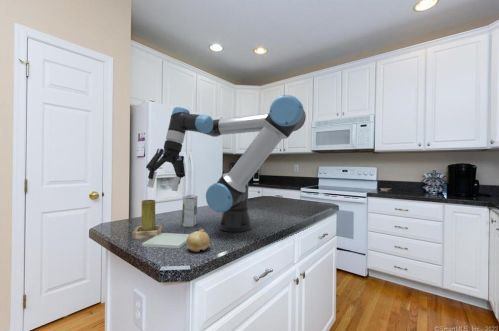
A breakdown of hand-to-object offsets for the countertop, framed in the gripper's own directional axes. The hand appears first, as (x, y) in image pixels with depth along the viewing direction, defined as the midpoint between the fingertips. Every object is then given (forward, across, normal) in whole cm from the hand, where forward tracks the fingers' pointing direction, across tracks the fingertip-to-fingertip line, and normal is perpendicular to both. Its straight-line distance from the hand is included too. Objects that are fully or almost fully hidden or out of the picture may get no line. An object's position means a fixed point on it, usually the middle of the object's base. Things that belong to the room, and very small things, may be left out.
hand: (162, 189), depth 102 cm
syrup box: (+16, -19, +3) cm, 25 cm away
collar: (+20, +1, -1) cm, 20 cm away
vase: (+20, +1, -1) cm, 20 cm away
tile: (+18, +3, +14) cm, 23 cm away
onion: (+18, +5, +29) cm, 34 cm away
